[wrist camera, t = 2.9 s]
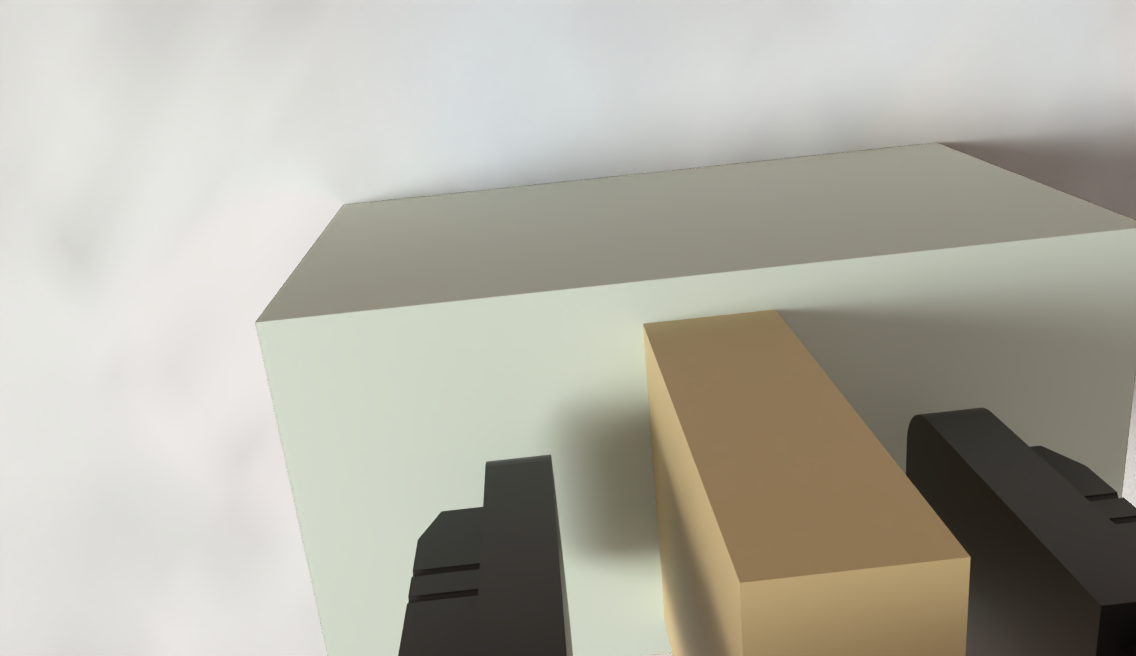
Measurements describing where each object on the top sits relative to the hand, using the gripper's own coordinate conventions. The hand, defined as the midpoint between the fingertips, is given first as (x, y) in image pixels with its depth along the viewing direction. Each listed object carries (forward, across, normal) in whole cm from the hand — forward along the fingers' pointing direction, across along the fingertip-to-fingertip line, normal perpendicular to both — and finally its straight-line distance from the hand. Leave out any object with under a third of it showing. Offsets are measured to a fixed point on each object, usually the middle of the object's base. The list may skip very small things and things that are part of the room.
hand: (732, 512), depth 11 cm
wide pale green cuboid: (+7, 0, 0) cm, 7 cm away
